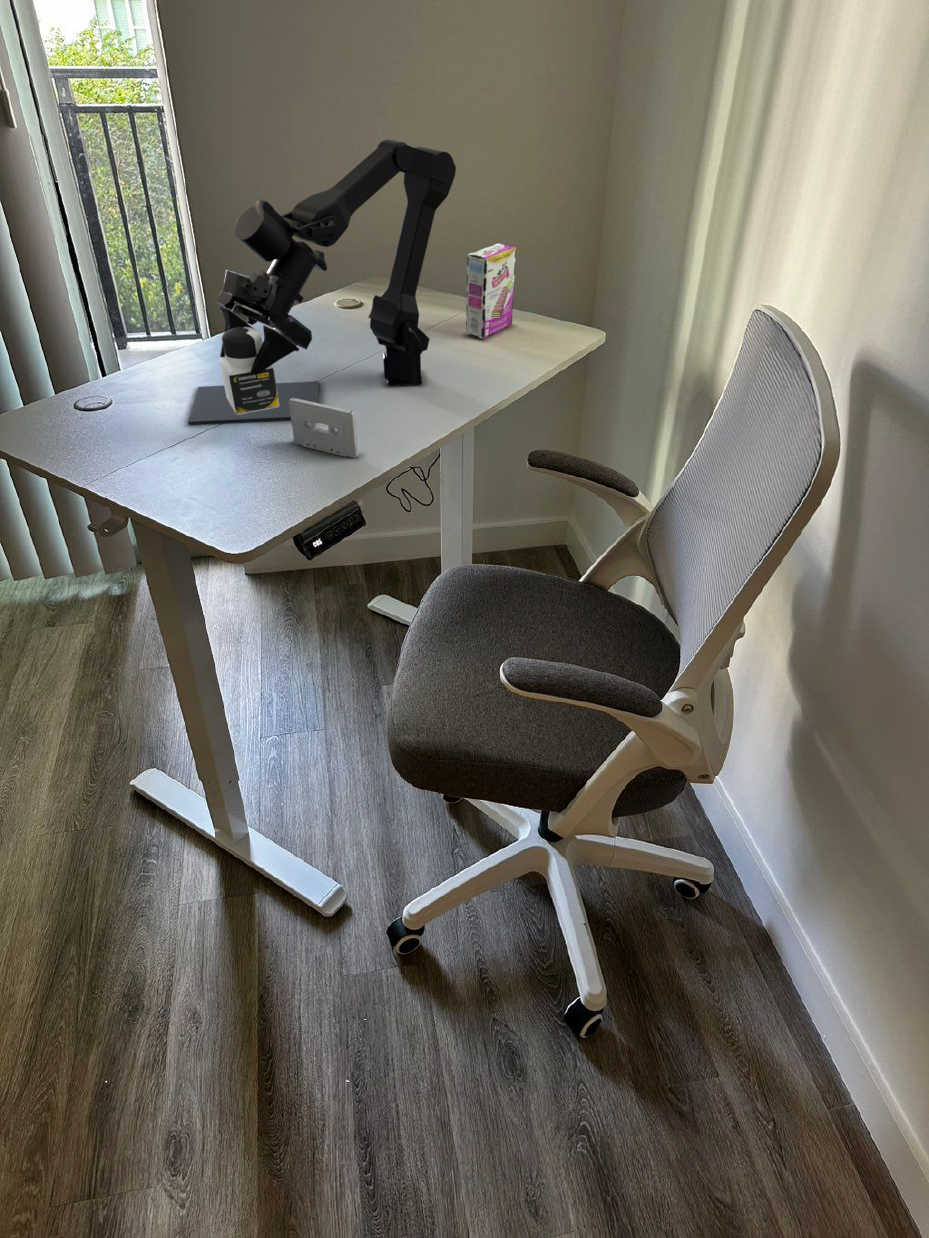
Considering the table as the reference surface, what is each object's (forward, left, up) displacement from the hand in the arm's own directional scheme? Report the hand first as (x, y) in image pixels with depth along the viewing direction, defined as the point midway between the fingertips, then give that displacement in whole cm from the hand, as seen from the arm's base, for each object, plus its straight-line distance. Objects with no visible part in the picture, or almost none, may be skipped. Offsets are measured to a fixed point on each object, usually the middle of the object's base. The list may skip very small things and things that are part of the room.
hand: (237, 366), depth 135 cm
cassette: (-13, +6, -12) cm, 19 cm away
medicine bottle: (-1, -1, -7) cm, 7 cm away
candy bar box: (-47, -45, -12) cm, 67 cm away
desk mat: (0, -13, -12) cm, 18 cm away
